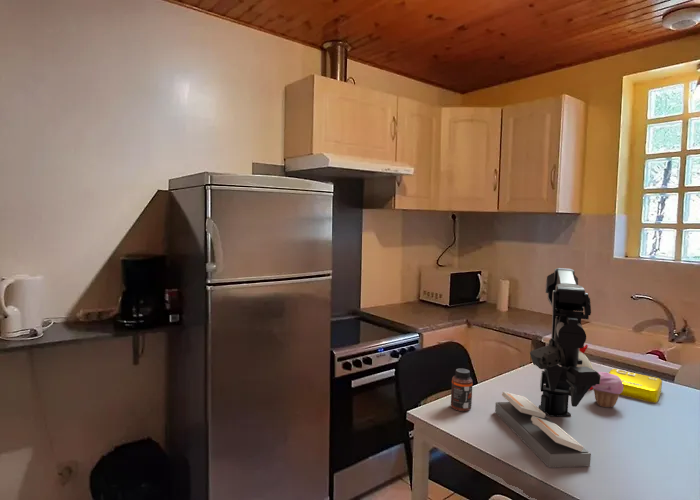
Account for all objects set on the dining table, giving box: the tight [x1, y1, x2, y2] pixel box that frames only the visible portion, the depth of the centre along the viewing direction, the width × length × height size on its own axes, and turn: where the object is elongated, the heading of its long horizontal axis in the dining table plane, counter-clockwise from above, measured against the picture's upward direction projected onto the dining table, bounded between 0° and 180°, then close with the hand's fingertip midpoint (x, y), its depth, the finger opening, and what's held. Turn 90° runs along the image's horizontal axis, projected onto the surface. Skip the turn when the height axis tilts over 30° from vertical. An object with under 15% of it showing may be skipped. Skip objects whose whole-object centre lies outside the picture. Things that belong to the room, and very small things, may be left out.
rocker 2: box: [531, 415, 585, 452], centre depth 105 cm, size 7×11×1 cm, turn 7°
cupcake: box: [592, 371, 623, 408], centre depth 134 cm, size 9×9×10 cm
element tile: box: [608, 368, 663, 403], centre depth 147 cm, size 15×15×5 cm
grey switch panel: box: [494, 401, 592, 469], centre depth 114 cm, size 10×28×3 cm, turn 6°
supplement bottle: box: [450, 368, 473, 412], centre depth 129 cm, size 6×6×11 cm
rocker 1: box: [501, 390, 547, 418], centre depth 121 cm, size 7×11×1 cm, turn 7°
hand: (562, 398), depth 110 cm, fingers open, 9 cm apart
